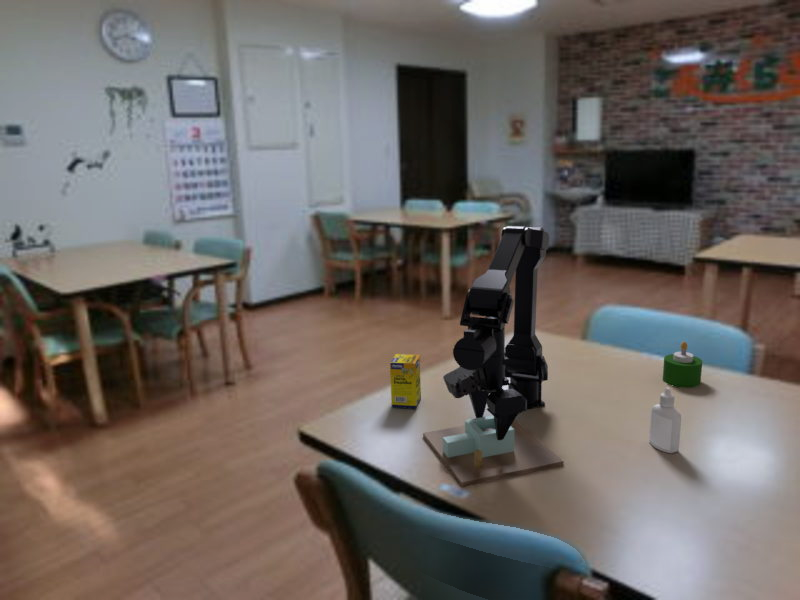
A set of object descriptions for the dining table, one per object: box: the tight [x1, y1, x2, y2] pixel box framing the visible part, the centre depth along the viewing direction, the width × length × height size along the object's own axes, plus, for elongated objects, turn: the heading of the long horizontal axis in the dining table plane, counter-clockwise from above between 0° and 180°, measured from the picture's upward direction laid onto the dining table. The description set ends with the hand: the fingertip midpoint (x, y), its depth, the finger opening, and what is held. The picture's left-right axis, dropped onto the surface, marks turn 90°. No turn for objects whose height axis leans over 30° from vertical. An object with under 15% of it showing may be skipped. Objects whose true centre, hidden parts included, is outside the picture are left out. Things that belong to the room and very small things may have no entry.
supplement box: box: [389, 353, 422, 410], centre depth 140 cm, size 6×6×11 cm
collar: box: [443, 414, 514, 458], centre depth 117 cm, size 12×7×4 cm, turn 107°
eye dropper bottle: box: [648, 387, 682, 454], centre depth 115 cm, size 4×6×12 cm
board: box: [422, 418, 565, 487], centre depth 118 cm, size 20×20×4 cm
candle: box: [662, 341, 703, 389], centre depth 146 cm, size 8×8×10 cm
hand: (489, 429), depth 117 cm, fingers open, 9 cm apart
